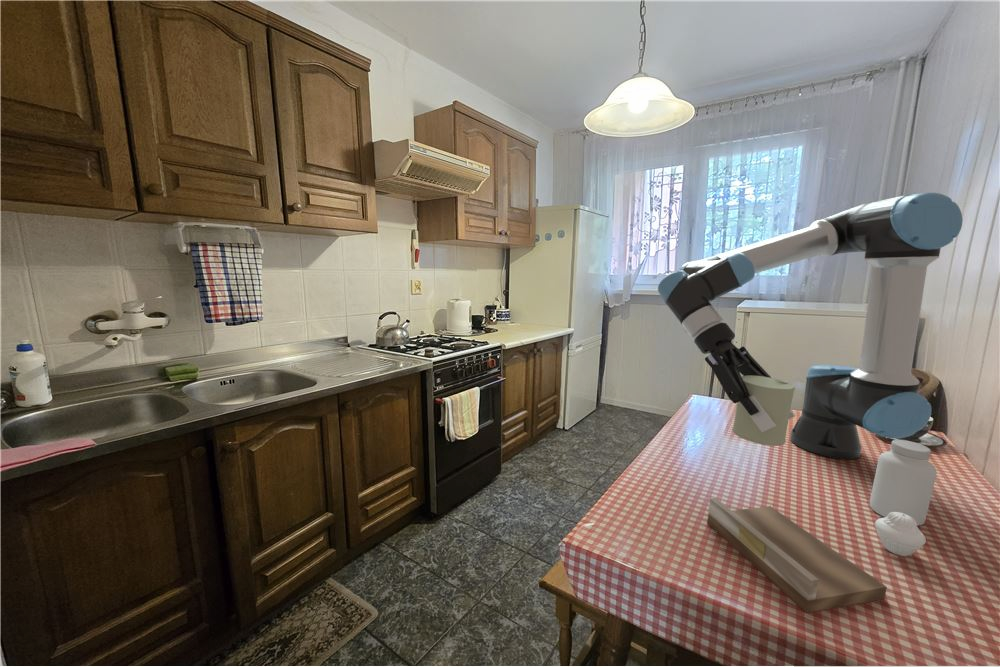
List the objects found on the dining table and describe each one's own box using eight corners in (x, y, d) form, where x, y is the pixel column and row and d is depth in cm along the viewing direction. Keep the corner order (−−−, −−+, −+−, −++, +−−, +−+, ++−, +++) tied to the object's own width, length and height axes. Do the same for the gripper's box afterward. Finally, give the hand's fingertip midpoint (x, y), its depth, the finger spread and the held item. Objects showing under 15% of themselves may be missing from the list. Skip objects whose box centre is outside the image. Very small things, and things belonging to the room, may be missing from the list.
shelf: (769, 515, 77) (772, 491, 76) (884, 598, 58) (890, 567, 57) (706, 522, 74) (709, 498, 74) (804, 613, 55) (810, 581, 54)
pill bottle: (916, 532, 73) (932, 458, 70) (861, 508, 80) (874, 440, 77) (932, 520, 76) (947, 449, 74) (878, 498, 83) (891, 433, 81)
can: (797, 446, 75) (808, 387, 73) (751, 445, 75) (761, 386, 72) (763, 426, 84) (772, 373, 82) (722, 425, 84) (730, 372, 82)
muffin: (925, 554, 67) (933, 517, 66) (916, 568, 64) (924, 530, 63) (877, 533, 72) (884, 499, 71) (866, 545, 69) (873, 509, 68)
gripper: (718, 337, 95) (783, 421, 85) (668, 344, 83) (737, 443, 72) (745, 318, 90) (817, 405, 80) (696, 323, 77) (774, 427, 67)
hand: (779, 423), depth 76 cm, fingers closed on can, 9 cm apart
